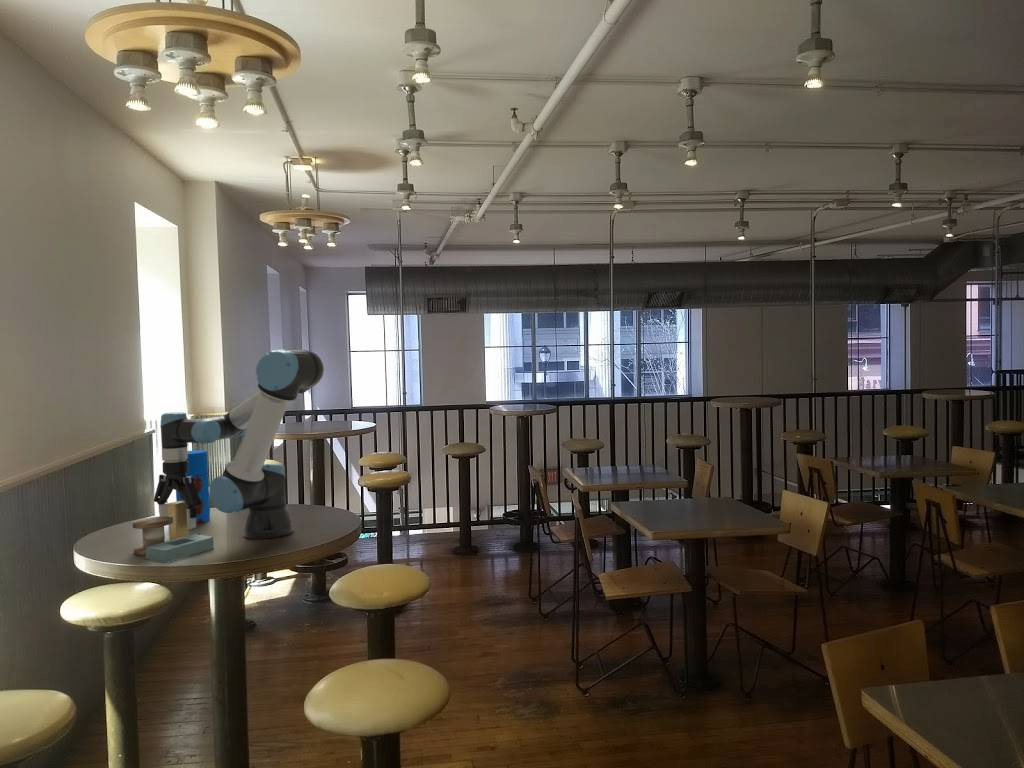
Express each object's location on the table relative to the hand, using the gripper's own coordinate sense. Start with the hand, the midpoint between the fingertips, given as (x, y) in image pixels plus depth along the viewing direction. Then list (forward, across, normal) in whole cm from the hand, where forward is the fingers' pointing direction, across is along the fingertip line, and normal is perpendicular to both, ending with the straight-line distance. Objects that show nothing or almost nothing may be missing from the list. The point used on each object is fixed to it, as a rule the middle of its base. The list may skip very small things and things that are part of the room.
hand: (177, 526), depth 226 cm
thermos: (+5, +18, -19) cm, 26 cm away
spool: (+4, -5, +12) cm, 14 cm away
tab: (+4, 0, 0) cm, 4 cm away
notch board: (+4, -16, +11) cm, 20 cm away
